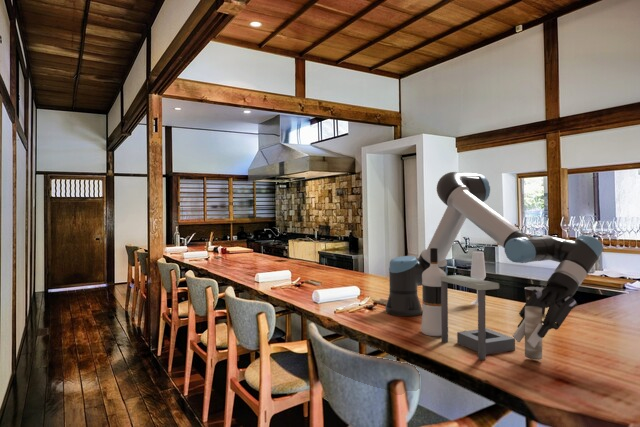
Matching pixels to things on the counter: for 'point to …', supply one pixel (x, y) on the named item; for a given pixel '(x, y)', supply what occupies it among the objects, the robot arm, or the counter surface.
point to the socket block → (493, 341)
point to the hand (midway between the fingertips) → (523, 341)
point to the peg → (531, 322)
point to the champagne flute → (478, 269)
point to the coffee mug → (529, 291)
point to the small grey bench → (481, 287)
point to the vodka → (432, 297)
